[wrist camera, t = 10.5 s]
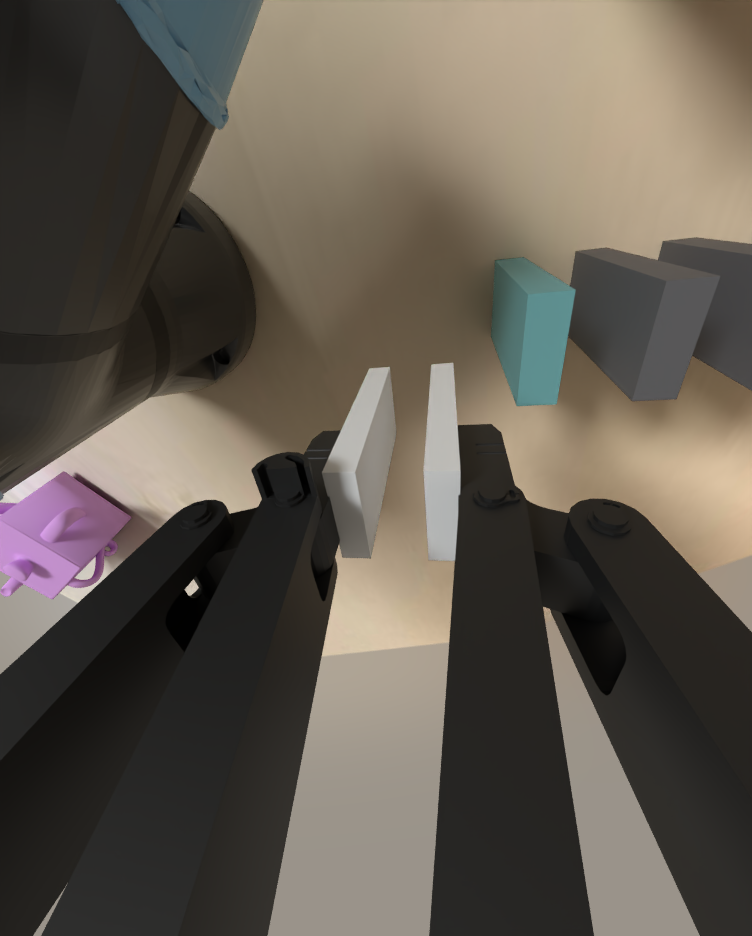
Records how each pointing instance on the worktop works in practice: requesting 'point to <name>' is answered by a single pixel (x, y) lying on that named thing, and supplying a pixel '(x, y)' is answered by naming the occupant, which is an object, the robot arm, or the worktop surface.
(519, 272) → the domino
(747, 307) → the domino
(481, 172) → the worktop surface
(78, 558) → the teapot
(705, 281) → the domino
